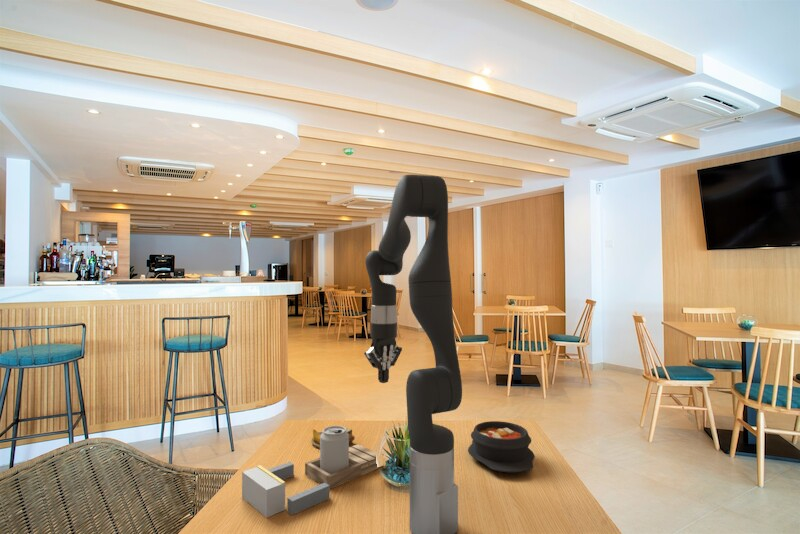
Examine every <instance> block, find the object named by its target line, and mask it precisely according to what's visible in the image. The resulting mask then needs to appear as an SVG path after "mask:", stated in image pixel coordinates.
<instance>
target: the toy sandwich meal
mask: <svg viewBox="0 0 800 534" xmlns="http://www.w3.org/2000/svg"><path fill="white" fill-rule="evenodd" d="M345 428H346V427H345ZM346 432H347V433H348V434H349V443H351V442H352V441H354V440H355V435H353V429H352V428H346ZM322 433H323V431H317V430H316V429H312V435H313V436H312V437H311V440H310V441H311V443H312V445H313V446H314V447H316V448H318V449H320V436H321V434H322Z"/></svg>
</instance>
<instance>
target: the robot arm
mask: <svg viewBox="0 0 800 534" xmlns="http://www.w3.org/2000/svg"><path fill="white" fill-rule="evenodd" d="M448 195H449V193H448V188H447V184H446V181H445V180H444V178H443V177H441V176H438V175H423V174H405V175H402V176H401V177H400V178H399V179H398V182H397V184H396V186H395V190H394V193H393V197H392V200H391V201H392V202H391V206H390V209H389V210H390V211H389V214H388V218H387V219H388V221H387V225H386V228H385V231H384V233H383V236H382V238H381V240H380V242H379V244H378V250H376V249H375V250H370V251H369V252H368V253H367V254H366V257H365V262H364V263H365V267H366V271H367V275H368V278H369V279H368V280H369V284H370V288H371V309H370V338H371V344H370V348H369V349H368V350H365V351H364V353H363V354H364V356H365V357H366V359H367V361H368V362H369V363H370V365H371V367H373V368H375V369H377V371H378V372H377V379H378V382H379V383H382V384H385V383H388V382H389V378H390V368H391V367H394V366H395V365H396V363H397V361H398V359H399V357H400V355H401V353H402V351H403V348H402V347H401V346H398V345H397V341H396V338H397V337H398V309H397V287H396V285H394V284H392V283H388V282H387V283H386V282H384V281H382V280H381V278H380V276H396V275H398V274H400V273H401V272H402V270H403V266H404V265H403V263H404V261H403V259H404V254H405V253H406V251H407V249H408V247H409V245H410V243H411V238H412V237H411V236H412V233H411V230H410V227H409V226H408V224H407V222H406V220H405V218H406V217H411V218H414V217H415V218H428V231H427V236H426V239H425V242H424V244H423V246H422V248H421V250H420V252H419V254H418V255H417V257H416V259H415V260H414V263H413V265H412V266H411V269H410V271H409V274H408V293H409V294H408V296H409V306H410V309H411V312H412V314H413V315H414V317H415V319H416V320H417V322H418V324H419V325H420V327H421V328H422V329H423V332H425V334H426V336H427V337H428V339H429V342H431V346H432V350H433V354H434V355H433V356H434V362H435V367H428V368H420V369H414V370H412V371H411V372H410V373H409V374H408V376H407V379H406V387H405V392H406V393H405V396H406V414H407V416H406V417H407V430H408V435H409V436H408V437H409V531H410V533H411V534H456V533H458V532H459V486H458V484H455V436H454V433H453V431H452V430H451V429H449V428H448V427H445V426H443V425H439V424H436V423H433V415H435V414H441V413H446V412H447V413H448V412H452V411H455V410H457V409H458V408H460V405H461V403H462V399H463V397H462V396H463V384H462V375H461V369H460V362H459V357H458V351H457V345H456V343H457V342H456V336H455V327H454V326H455V325H454V315H453V314H454V313H453V289H452V277H451V268H450V258H449V242H448V241H449V239H448V236H449V234H448V233H449V231H448V230H449V196H448Z"/></svg>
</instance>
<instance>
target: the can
mask: <svg viewBox="0 0 800 534" xmlns="http://www.w3.org/2000/svg"><path fill="white" fill-rule="evenodd" d="M322 432H323V433H322V434H321V436H320V448H319V449H320V450H319V453H320V454H319V458H320V469H322V470H324V471H325V472H327V473H329V474H333V473H335V472H338V471H340V470H343V469H345V468H348V467H349V447H350V442H349V434H348V433H347V432H346V427H345V426H342V425H330V426H327V427H325V428H323V429H322Z"/></svg>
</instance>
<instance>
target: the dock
mask: <svg viewBox="0 0 800 534" xmlns="http://www.w3.org/2000/svg"><path fill="white" fill-rule="evenodd" d="M294 465H295V464H294V463H293V462H291V461H288V462H285V463H283V464H278V465H277V466H274V467H271V468H268V469H266V468H265V467H264V466H262V465H261V464H259V465H256V466H255V467H253V468H250V469H246V470H243V471H242V472H241V482H242V483H241V488H242V489H241V498H242V499H244V500H245V501H246V502H247V503H248V504H249V505H250V506H252V507H253V508H254V509H255V510H256V511H257V512H259V513H260V514H262V515H263V517H265V518H266V519H267V518H270V517H271V516H272V517H273V516H274V515H277V514H278V513H281V512H283V511H285V510H286V511H287V513H288V514H289V515H292V516H293V515H296V514H298V513H300V512H301V511H305V510H307V509H309V508H311V507H313V506H315V505H318V504H320V503H322V502H324V501H327V500H329V499H330V496H331V494H330V490H331V489H330V485H328V484H326V483H322V484H320V483H319V484H318V485H316V486H313V487H311V488H309V489H305V490H304V491H301V492H299V493H296V494H294V495H291V496H289V497H287V498H286V481H284V480H285V479H288V478H291V477H294V476H295V474H294V472H295V471H294V470H295V466H294ZM286 499H287V502H286ZM286 505H287V506H286ZM286 508H287V509H286Z"/></svg>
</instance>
